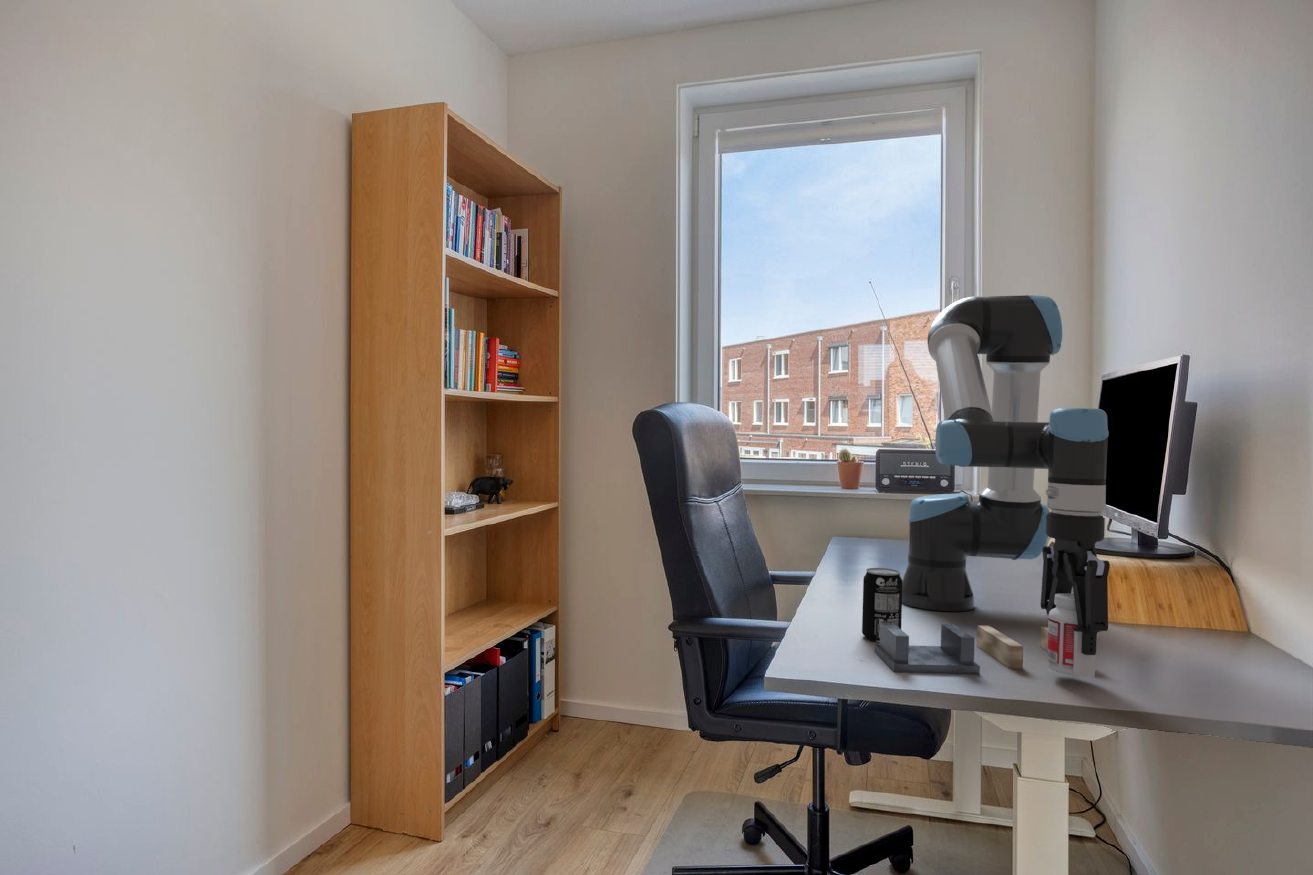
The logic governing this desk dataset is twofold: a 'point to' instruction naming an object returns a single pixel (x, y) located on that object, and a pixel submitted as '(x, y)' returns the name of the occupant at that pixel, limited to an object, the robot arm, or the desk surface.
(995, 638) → the guide channel
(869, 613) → the beverage can
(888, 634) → the cradle
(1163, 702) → the desk surface
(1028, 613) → the desk surface
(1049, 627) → the pill bottle
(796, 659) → the desk surface
